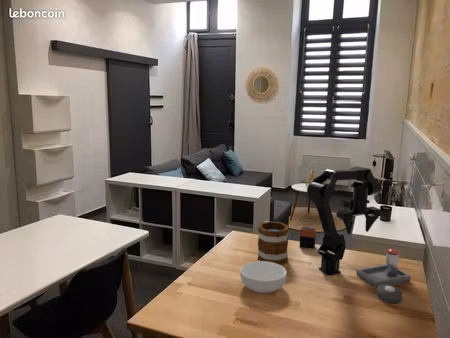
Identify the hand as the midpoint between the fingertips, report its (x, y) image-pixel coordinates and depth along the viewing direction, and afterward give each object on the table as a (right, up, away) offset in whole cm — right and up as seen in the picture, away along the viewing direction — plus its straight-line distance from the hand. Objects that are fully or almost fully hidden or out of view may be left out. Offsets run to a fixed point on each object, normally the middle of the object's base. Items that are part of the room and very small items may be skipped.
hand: (357, 232), depth 156 cm
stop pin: (+9, -14, -11) cm, 20 cm away
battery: (-17, -10, +18) cm, 27 cm away
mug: (-36, -12, +8) cm, 39 cm away
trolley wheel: (+2, -18, -26) cm, 32 cm away
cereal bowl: (-42, -17, -19) cm, 49 cm away
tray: (+5, -16, -12) cm, 21 cm away
